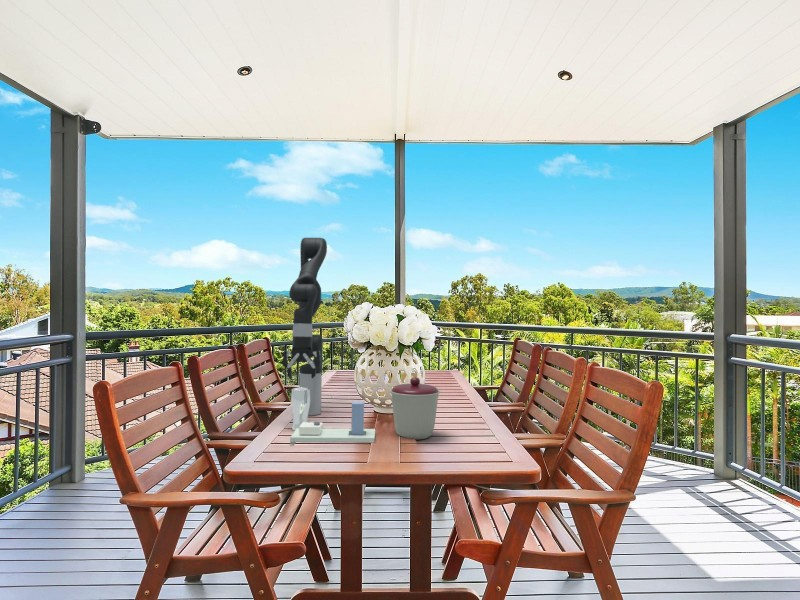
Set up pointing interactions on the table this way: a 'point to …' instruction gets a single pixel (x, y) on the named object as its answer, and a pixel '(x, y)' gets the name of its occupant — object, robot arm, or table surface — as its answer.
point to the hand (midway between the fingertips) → (301, 378)
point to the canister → (414, 409)
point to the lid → (310, 428)
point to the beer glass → (300, 405)
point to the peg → (357, 419)
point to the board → (334, 436)
